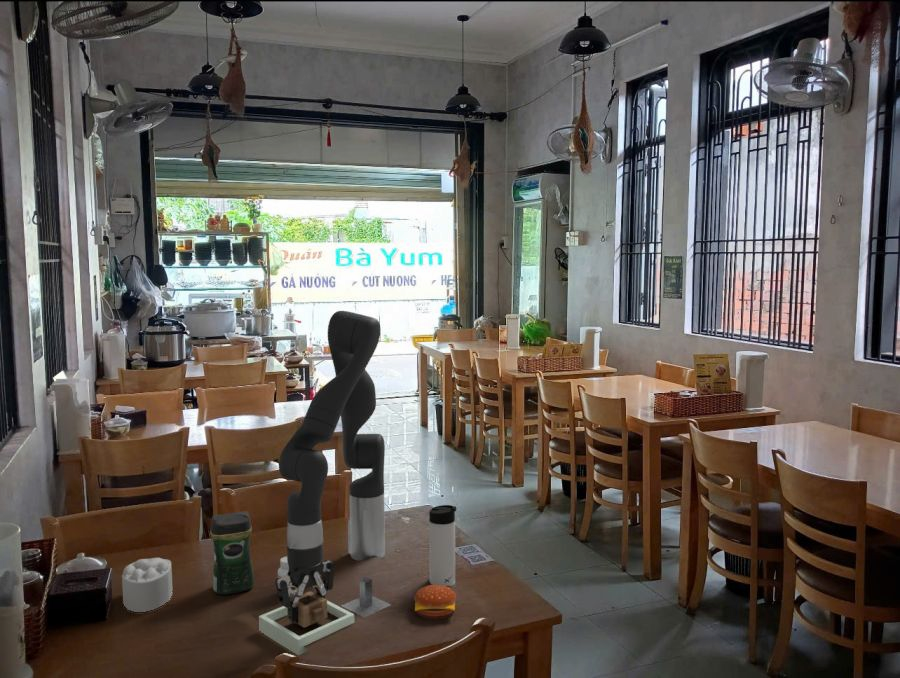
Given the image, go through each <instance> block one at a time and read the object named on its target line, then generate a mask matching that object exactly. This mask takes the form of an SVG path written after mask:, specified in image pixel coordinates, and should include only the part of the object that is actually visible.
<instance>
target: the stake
mask: <svg viewBox="0 0 900 678" xmlns="http://www.w3.org/2000/svg"><path fill="white" fill-rule="evenodd" d="M358 588H359V597H357V598H356V599H353V600H350V601H348V602H347V603H344V604H341V605H340V606H341V608H343V609H345V610H347V611H349V612H351V613H353V614H355V615H357V616H360V617H362V618H367V617H368V616H370V615H373V614H375V613H377V612H379V611H381V610H383V609H387V608H388V607H390V606H392V604H390V603H389V602H386V601H384V600H383V599H381V598H378V597H375V596H373V579H372V578H370V577H368V576H365V577H362V578H360V579H359V587H358Z"/></svg>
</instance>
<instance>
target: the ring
mask: <svg viewBox="0 0 900 678" xmlns="http://www.w3.org/2000/svg"><path fill="white" fill-rule="evenodd" d="M315 593H316V592H315ZM315 593H314V592H313V591H307V592H305V593H304V592H303V594H302V596H301V597H300V598H299V601H298V604H297V606H298V623H296V624H297V625H299V626H301V627H302V628H303V629H305V628H307V627H309V626H311V625H314V624H316V623H318V622H320V621H323V620H325V619H327V618H328V612H327V601H328V599H327V598H326V597H325V598H323V597H321V596H319V595H317V594H315ZM287 618H288V608H287Z"/></svg>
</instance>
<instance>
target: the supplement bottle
mask: <svg viewBox="0 0 900 678" xmlns="http://www.w3.org/2000/svg"><path fill="white" fill-rule="evenodd" d="M279 564H280V567H278V569H277V578H280V579H281V578H283V577H285V576H287V573H288V571H289V566H288V562H287V555H286V556H283V557H281V558H280V560H279ZM290 583H291V582H290V581H289V586H290ZM288 589H289V587H288ZM295 590H298V588H296V587H295ZM288 594H289V592H288Z"/></svg>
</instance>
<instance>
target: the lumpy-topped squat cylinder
mask: <svg viewBox="0 0 900 678" xmlns="http://www.w3.org/2000/svg"><path fill="white" fill-rule="evenodd" d="M172 571H173V570H172V561H171V560H170V559H168V558H166V559H165V558H161V557H151V558H140V559H137V560H136V561H134V562H132V563H130V564H128V565H126V566H125V567H124V569H123V572H122V575H121V587H122V605H123V604H124V606H125V607H126V608H127V609H128V610H131V611H134V612H146V611H150V610H153V611H155V610H154V609H156V608H158V607H160V606H162V605H164V604H165V603H166V602H168V601H169V600H170V601H171V599H172V597H173V592H172V591H173V575H172V574H173V572H172ZM171 596H172V597H171ZM170 598H171V599H170ZM170 601H169V602H170ZM169 602H168V603H169ZM165 605H166V604H165ZM165 605H164V606H165ZM124 606H123V607H124ZM162 607H163V606H162ZM160 608H161V607H160ZM158 609H159V608H158ZM128 610H127V611H128ZM156 610H157V609H156ZM150 612H151V611H150Z"/></svg>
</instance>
